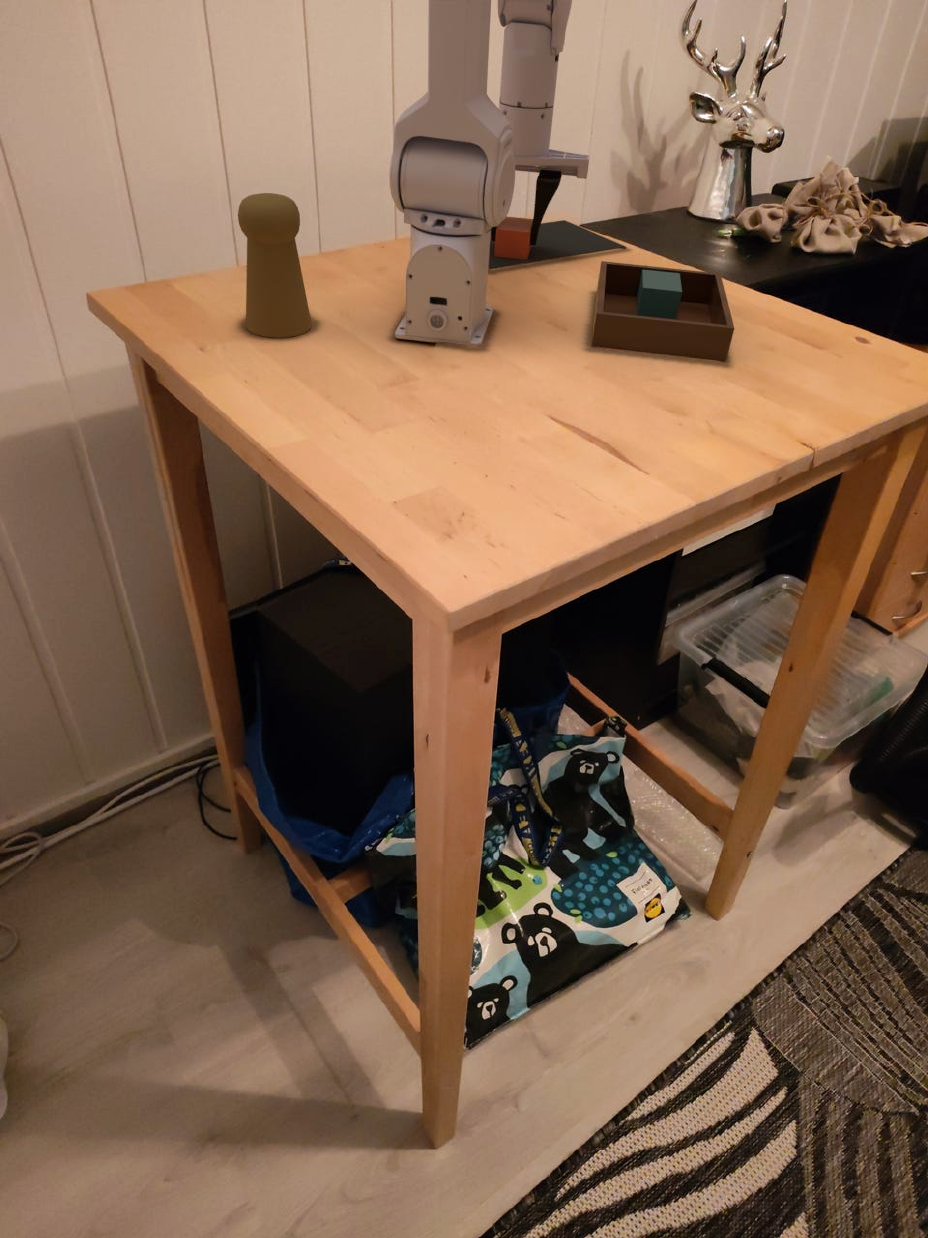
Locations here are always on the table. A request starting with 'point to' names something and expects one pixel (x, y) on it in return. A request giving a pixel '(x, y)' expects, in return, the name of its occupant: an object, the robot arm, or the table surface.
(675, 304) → the block
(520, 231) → the block
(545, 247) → the mat
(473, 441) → the table surface
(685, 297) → the brown open tray
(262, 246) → the cork
